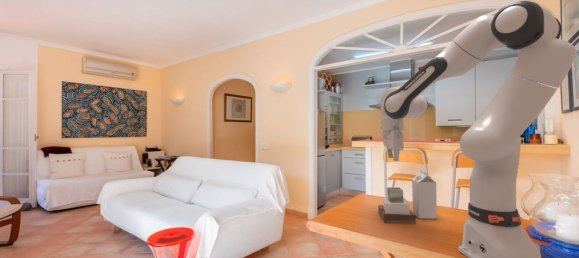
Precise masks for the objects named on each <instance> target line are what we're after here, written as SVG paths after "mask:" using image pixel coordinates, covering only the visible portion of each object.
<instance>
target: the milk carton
mask: <svg viewBox="0 0 579 258" xmlns="http://www.w3.org/2000/svg"><path fill="white" fill-rule="evenodd" d="M428 174H429V173H428V172H427V171H426V172H425V171H424V170H422V169H420V171H419V173H418V174H416V175H415V176H414V177H413V178H412V180H411V183H412V186H411V188H412V189H411V190H412V195H411V196H412V212H413V213H414V214H415V215H416V218H418V219H431V220H432V219H436V220H437V218H438V213H437V209H438V206H437V203H438V202H437V199H438V198H437V197H438V196H437V182H436V181H435V180H433V178H431V177H430V176H428Z"/></svg>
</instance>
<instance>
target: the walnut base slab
mask: <svg viewBox="0 0 579 258" xmlns="http://www.w3.org/2000/svg"><path fill="white" fill-rule="evenodd" d="M377 205H378V206H377V207H378V209H377V210H378V215H379V216H380V218H381V220H382V222H383V224H399V225H400V224H402V225H416V224H417V219H416V218H417V216H416V215H415V214H414V213H413V210H412V209H410V215H405V214H387V213H386V212H385V210H384V207H383V204H382V205H381V204H377Z"/></svg>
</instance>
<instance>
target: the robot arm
mask: <svg viewBox="0 0 579 258" xmlns="http://www.w3.org/2000/svg"><path fill="white" fill-rule="evenodd" d="M562 30H563V28H562V24H561V22H560V20H559V19H558V18H557V17H555V16H554V14H553V13H552V12H551V10H549V9H547V8H545V7H544V6H541V5H540V4H538V3H536V2H534V1H531V0H518V1H517V0H516V1H513V2H509V3H508V4H505V5H504V6H503V7H500V9H499V10H497V12H496V13H495V15H493V14H483V15H480V16H478V17H477V18H476V19H474V20H473V21H472V22H471V23H469V24H468V25H467V26H466V27H465V28H464V29H463V30H462V31H460V32H459V33H458V35H456V36H455V38H453V39H452V40H451V42H450V43H449V44H447V46H446V47H444V49H443V50H441V52H439V53H438V54H437V55H436V56H434V57H433V58H432V59H431V60H429V61H428V62H427V63H426V64H424V65H423V66H422V67H421V68H420V69H419V70H418V71H417V72H416V73H415V74H413V76H411V77H410V78H409V79H408V80H407V81H406V82H405V83H404V84H403V85H401V86H391V87H388V88H385V89H384V90H383V91H382V93H381V97H380V112H381V118H380V119H381V122H380V123H381V125H380V131H381V132H382V142H383V146H384V147H385V148H386V151H387V158H389V159H392V160H393V161H394V162H398V161H400V160H399V159H400V158H399V157H400V153H401V152H400V151H403V150H404V134H403V131H404V130H405V126H404V125H405V124H404V123H405V120H404V119H411V118H413V119H414V118H415V119H416V118H419V117H421V116H423V115H425V113H426V112H427V110H428V107H429V106H428V105H429V102H428V100H427V97H426V96H425V95H422V93H424V92H426V90H427V89H428V88H429V87H430V86H432V85H433V84H434V83H437V82H440V81H442V80H444V79H448V78H453V77H454V78H455V77H458V76H463V75H465V74H467V73H468V72H469V71H472V69H474V68H475V67H477V66H478V65H479V64H480V63H481V62H482V61H483V60H484V59H485V58H486V57H487V56H489V55H490V53H491V52H493V51H494V50H495V49H497V48H499V47H506V48H508V49H512V51H513V50H514V51H516V52H517V59H516V61H515V63H514V65H513V66H512V69H510V71H509V73H508V75H507V76H506V78H505V79H504V81H503V82H502V84H501V86H500V88H499V89H498V90H497V93H495V95H494V96H493V98H492V100H491V101H490V102H489V104H488V105H487V106H486V107H485V109H483V111H482V112H481V113H480V114H479V115H478V116H477V118H476V119H475V120H474V122H472V124H471V125H470V127H469V128H468V129H467V130H466V131H465V132H464V133H463V134H462V135H461V137H460V138H459V148H460V150H461V152H462V154H464V156H465V157H467V158H468V159H470V160H472V161H474V162H473V168H472V171H471V174H470V177H469V202H467V203H468V204H467V205H468V206H467V214H468V219H467V220H466V222H464V224H463V233H462V244H460V245H458V249H457V250H458V252H460V253H462V254H463V255H464V256H465V257H467V258H542V255H541V246H540V245H539V244H538V243H536V242H533V240H532V239H531V238H530V236H529V235H528V233H527V232H526V231H525V229H524V228H523V227H522V222H523V220H522V219H523V218H524V217H521V215H520V212H519V210H518V208H517V178H518V170H519V165H520V155H521V145H522V137H521V136H522V134H523V133H524V132H525V131H526V130H527V129H528V128H529V126H531V124H532V123H533V122H534V121H535V120H536V119H537V118H539V116H540V115H541V113H542V112H543V111H544V108H545V107H546V106H547V105H548V103H549V102H550V100H551V99H552V98H553V96H554V95H555V94H556V92H557V91H558V89H559V88H560V87H561V85H562V83H563V82H564V81H565V78H567V75H568V74H569V71H570V69H571V68H572V66H573V63H574V61H575V60H576V57H577V49H576V47H575V46H574V45H573V44H572V43H570V42H569V41H567V40H564V39H561V36H562V33H563V31H562Z"/></svg>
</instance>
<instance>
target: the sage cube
mask: <svg viewBox="0 0 579 258" xmlns="http://www.w3.org/2000/svg"><path fill="white" fill-rule="evenodd" d="M386 196H387V197H386V198H387V199H388V200H389V201H390V202H391V203H403V198H404V190H403V189H402V188H400V187H397V186H396V187H387V188H386Z"/></svg>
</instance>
